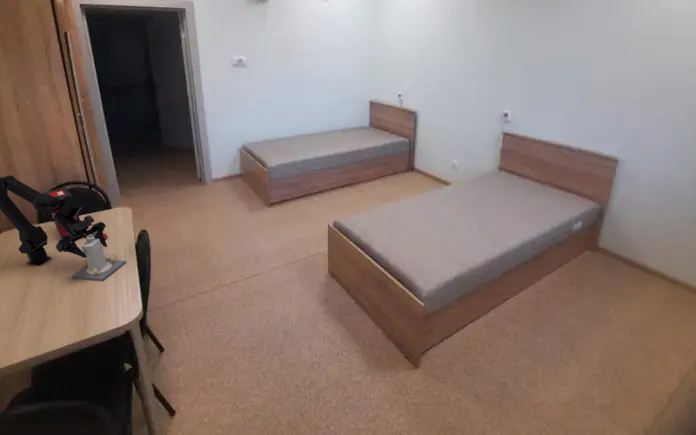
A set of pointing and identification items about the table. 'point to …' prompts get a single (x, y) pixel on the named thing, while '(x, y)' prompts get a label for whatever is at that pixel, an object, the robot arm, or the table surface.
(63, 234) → the cleaning product box
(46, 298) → the table surface
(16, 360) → the table surface
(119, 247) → the table surface
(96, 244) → the skincare box
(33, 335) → the table surface
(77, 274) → the pin cradle
